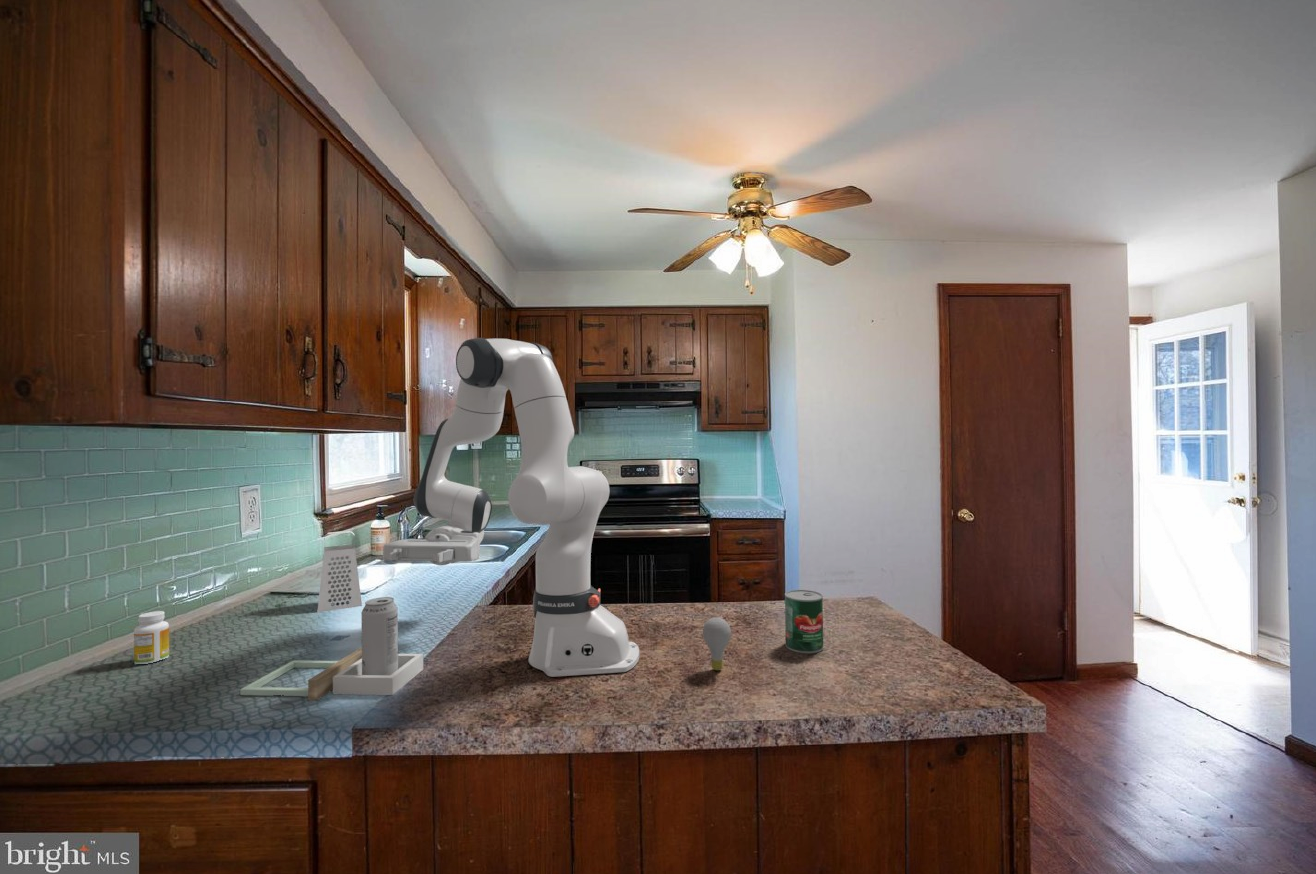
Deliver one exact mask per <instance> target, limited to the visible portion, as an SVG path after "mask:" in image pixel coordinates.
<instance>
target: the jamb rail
mask: <svg viewBox="0 0 1316 874" xmlns="http://www.w3.org/2000/svg"><path fill="white" fill-rule="evenodd" d="M361 658H362V646H361V647H359V648H358V649H356V650H354V651H353V652H352V653H350V654H348V655H347V656H345V657H343V658H342V659H340V660H337V661H338V662H337V663H335V664H333V665H332V666H330V667H329V668H324V670H322V671H321V672H318V673H317V674H316V675H314V676H312V677H311V678H309V679H308V680H307V686H308V687H307V688H308V696H307V698H308V701H318V700H319V699H321V698H322V697H324V696H326V695H327V694H328V693H330V692H332V691H333V677H334V676H335V675H337V674H338V673H340V672H341V671H343V670H344V669H346V668H347V667H349V666H351V665H352V664H354V663H355V662H357V661H358V660H360V659H361Z"/></svg>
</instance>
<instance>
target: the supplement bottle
mask: <svg viewBox="0 0 1316 874" xmlns="http://www.w3.org/2000/svg"><path fill="white" fill-rule="evenodd" d="M165 614H166V613H165V611H164V610H154V611H150V612H145V613H141V614H139V615H138V619H137V620H138V626H137V625H136V627H135V628H134V630H133V651H134V652H133V658H134V659H133V660H134V661H133V662H134V664H135V665H136V664H148V663H153V662H156V661H159V660H162V659H165V658H167V659H168V658H169V657H170V624H169V621H168V622H167V621H165V618H166V616H165ZM165 660H166V659H165ZM153 664H154V663H153ZM148 665H149V664H148Z"/></svg>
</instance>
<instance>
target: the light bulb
mask: <svg viewBox="0 0 1316 874" xmlns="http://www.w3.org/2000/svg"><path fill="white" fill-rule="evenodd" d="M702 637H703V638H702V639H703V640H704V642H705V644H706V645H707V647H708V649H709V651H710V657H711V669H712V670H715V671H716V672H718V671H720V670H722V669H723V659H724V652H725V650H726V647H727V646H728V644H729V643H730V640H731V637H732V630H731V626H730V625H729V623H728V621H727V620H725V619H724V618H721V617H711V618H709V619H707V621H705V623H704V624H703V627H702Z"/></svg>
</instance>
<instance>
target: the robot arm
mask: <svg viewBox="0 0 1316 874" xmlns="http://www.w3.org/2000/svg"><path fill="white" fill-rule="evenodd" d="M455 366H456V368H455V369H456V370H457V371H456V372H457V373H458V376H459V377H460V380H459V383H458V387H457V393H456V399H455V406H454V410H453V412H452V414H451V416H450V417H449V418H446V419H444V420H442V422H440V423H439V426H438V428H437V429H436V431H435V434H434V437H433V440H432V442H431V446H430V449H429V452H428V456H427V459H426V463H425V466H424V469H423V473H422V475H421V478H420V480H419V482H418V484H417V487H416V488H415V492H414V495H413V501H412V502H413V505H414V507H415V509H416V510H417V512H418V514H419V515H420V516H422V517H428V518H432V519H433V518H434V519H441V520H444V521H447V522H449V523H447V524H444V525H442V526H439V527H437V528H433V529H431V530H430V531H429V532H428V533H426V535H425V536H424V539H420V538H419V539H418V538H417V539H416V538H415V539H414V538H412V539H411V538H408V539H407V538H406V539H398V540H394V541H390V542H387V543H385V544H383V547H382V557H383V560H384V561H389V562H399V561H400V562H401V561H403V562H405V561H406V562H407V561H408V562H411V561H412V562H430V563H432V564H434V565H437V566H446V565H449V564H455V563H458V562H460V563H461V562H463V563H464V562H466V563H467V562H473V561H474V562H475V561H477V560H479V559H480V553H481V550H480V549H481V543H482V541H484V536H485V529H486V528H487V526H488V524H489V522H490V519H491V516H492V515H491V514H492V509H493V504H492V501H491V498H490V496H489V493H488V492H487V491H486V489H483V488H480V487H479V488H478V487H476V486H471V485H468V484H467V485H466V484H462V483H458V482H455V481H451V480H448V479H447V478H446V477H445V473H446V470H447V466H448V463H449V461H450V457H451V453H452V451H453V449H454V448H455V447H458V446H465V445H472V444H479V443H482V442H484V441H488V440H490V439H491V438H492V437H494V436H495V435H496V434H497V433H498V432H499V431H500V428H501V425H502V422H503V418H504V410H505V404H506V394H507V392H508V391H510V394H511V398H512V399H511V400H512V405H513V406H512V407H513V410H514V415H515V418H516V423H517V427H518V433H519V437H520V438H519V439H520V442H521V443H520V444H521V460H520V467H519V470H518V473H517V475H516V477H515V479H514V480H513V481H512V483H511V484H510V487H509V491H508V494H507V498H508V499H507V500H508V501H507V502H508V506H509V509H510V511H511V513H512V515H513V516H514V518H516V519H517V521H519V522H521V523H523V524H528V525H535V526H537V525H538V526H548V525H549V526H548V529H547V533H546V534H545V537H544V539H543V541H542V542H541V543H540V545H539V546H538V547H537V549H536V553H535V589H534V591H533V599H532V603H533V604H532V607H533V608H532V609H533V617H534V629H533V630H534V631H533V637H532V638H533V639H532V644H531V649H530V652H529V653H530V654H529V656H528V659H527V660H528V663H529V665H530V666H531V667H533V668H535V669H537V670H539V671H543V673H544V674H545V675H546V676H548V677H550V678H551V677H553V678H554V677H567V676H568V677H569V676H584V675H599V674H600V675H601V674H616V673H626V672H628V671H631V670H632V669H633V668H634V667H635V666H636V665H637V664H638V662H639V660H640V647H639V645H638V644H637V643H635V642H634V641H630V640H629V639H630V638H629V635H628V629H627V626H626V625H625V623H624V621H623V620H622V619H621V618H619V617H618V616H616V615H615V614H613V613H612V612H610V610H608V609H607V608H605V607H604V606H602V605H601V598H602V597H601V588H598V589H596V588H594V586H592V585H591V559H592V558H591V556H592V555H591V553H592V544H593V540H594V539H593V538H594V535H595V534H594V533H595V531H596V527H597V523H598V520H599V517H600V515H601V512H602V510H603V508H604V507H605V505H606V504H607V503H608V500H609V497H610V492H611V491H610V484H609V481H608V479H607V478H606V476H605V475H604V474H603V473H602V472H601V471H600V470H598V469H595V468H592V467H591V468H590V467H588V466H583V465H578V466H569V464H568V463H569V462H568V450H569V445H570V443H571V442H572V441H573V439H574V437H575V428H574V424H573V418H572V415H571V411H570V407H569V403H568V400H567V396H566V392H565V389H564V386H563V385H564V384H563V383H562V380H561V376H560V375H559V373H558V370H557V368H556V366H555V364H554V358H553V355H552V352H551V351H550V350H549V349H548V348H547V347H546V346H544V345H542V344H539V343H537V342H531V341H530V342H526V341H522V340H514V339H509V338H495V337H494V338H484V337H475V338H470V339H466V340H465V341H463V342H462V343H461V345H460V346H459V348H458V349H457V352H456V356H455Z"/></svg>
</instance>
